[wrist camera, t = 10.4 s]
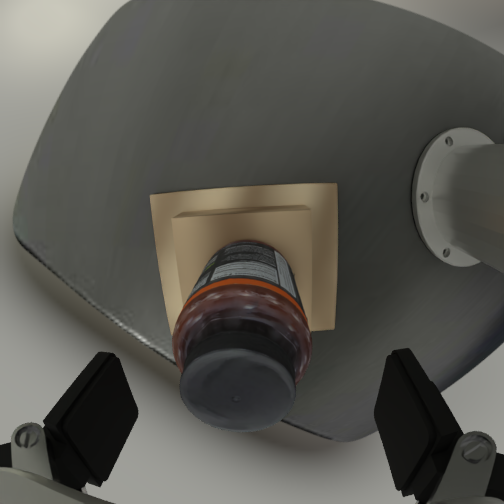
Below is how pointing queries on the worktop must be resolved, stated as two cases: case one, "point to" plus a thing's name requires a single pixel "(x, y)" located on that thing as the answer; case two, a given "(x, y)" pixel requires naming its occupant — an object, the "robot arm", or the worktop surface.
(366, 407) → the worktop surface
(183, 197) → the oak base
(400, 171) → the worktop surface
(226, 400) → the supplement bottle
